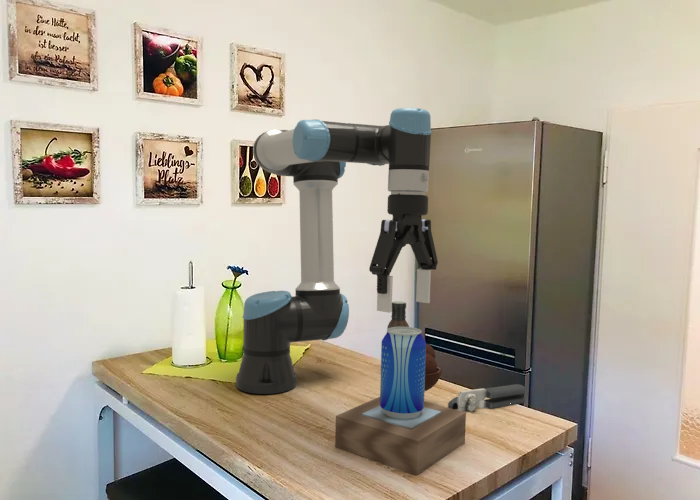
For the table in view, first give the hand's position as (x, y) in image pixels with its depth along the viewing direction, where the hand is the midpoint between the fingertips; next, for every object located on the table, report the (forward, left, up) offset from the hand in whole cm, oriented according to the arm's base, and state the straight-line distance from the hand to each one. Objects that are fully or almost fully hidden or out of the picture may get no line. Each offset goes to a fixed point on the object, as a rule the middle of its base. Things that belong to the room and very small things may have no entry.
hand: (404, 306), depth 109 cm
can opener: (+4, +31, -27) cm, 42 cm away
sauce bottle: (-26, +39, -27) cm, 54 cm away
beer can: (0, 0, -21) cm, 21 cm away
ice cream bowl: (-8, +19, -27) cm, 34 cm away
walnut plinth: (0, 0, -27) cm, 27 cm away
